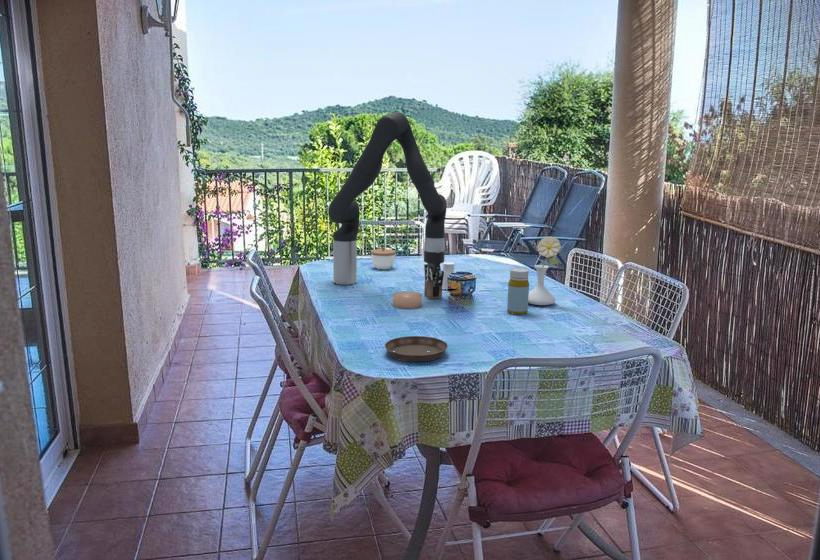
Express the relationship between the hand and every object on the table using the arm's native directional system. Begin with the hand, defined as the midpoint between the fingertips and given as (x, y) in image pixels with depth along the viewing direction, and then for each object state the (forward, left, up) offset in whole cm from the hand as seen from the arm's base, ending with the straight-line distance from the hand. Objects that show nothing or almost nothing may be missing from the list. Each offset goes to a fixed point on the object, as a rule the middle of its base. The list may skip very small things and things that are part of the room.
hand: (433, 294), depth 272 cm
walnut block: (0, 0, -1) cm, 1 cm away
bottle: (+28, +20, -1) cm, 34 cm away
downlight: (-12, +11, -1) cm, 16 cm away
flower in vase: (+20, +34, -1) cm, 39 cm away
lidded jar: (-54, -2, -1) cm, 54 cm away
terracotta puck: (+8, -13, -1) cm, 15 cm away
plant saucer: (+60, -29, -2) cm, 67 cm away
